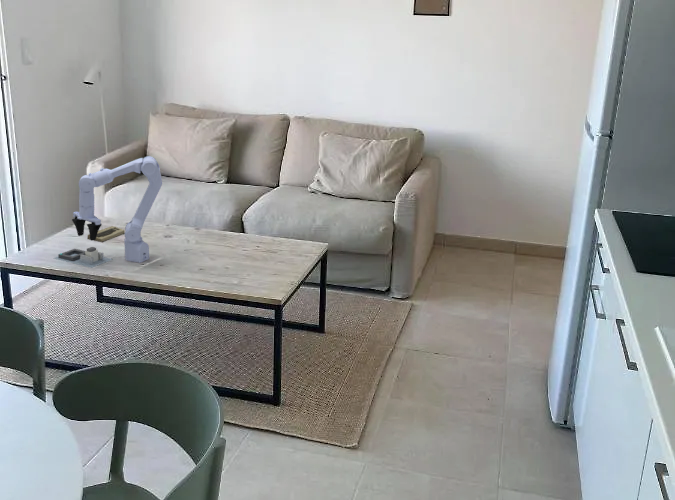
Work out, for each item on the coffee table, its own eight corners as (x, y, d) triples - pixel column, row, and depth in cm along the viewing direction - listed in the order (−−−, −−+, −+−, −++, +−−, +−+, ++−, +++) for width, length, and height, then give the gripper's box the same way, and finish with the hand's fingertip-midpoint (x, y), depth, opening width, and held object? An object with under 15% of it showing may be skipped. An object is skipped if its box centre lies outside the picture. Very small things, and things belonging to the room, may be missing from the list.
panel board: (113, 261, 299) (113, 259, 298) (91, 270, 288) (91, 267, 288) (75, 252, 307) (74, 250, 307) (53, 260, 297) (53, 258, 296)
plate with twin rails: (103, 259, 297) (103, 253, 296) (91, 264, 291) (91, 257, 290) (92, 257, 299) (92, 250, 298) (80, 262, 294) (80, 255, 293)
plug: (98, 260, 296) (97, 247, 295) (91, 263, 293) (90, 250, 291) (93, 258, 298) (92, 246, 296) (85, 261, 294) (84, 248, 292)
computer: (101, 243, 321) (100, 236, 320) (87, 240, 324) (86, 233, 323) (125, 234, 334) (124, 227, 333) (111, 231, 337) (111, 225, 336)
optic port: (89, 255, 302) (88, 251, 301) (73, 261, 294) (72, 257, 293) (74, 251, 305) (74, 247, 304) (58, 257, 297) (58, 253, 297)
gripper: (66, 202, 289) (66, 235, 293) (90, 211, 282) (90, 244, 286) (81, 200, 295) (81, 232, 299) (105, 208, 288) (104, 240, 292)
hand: (86, 237), depth 293 cm, fingers open, 7 cm apart
